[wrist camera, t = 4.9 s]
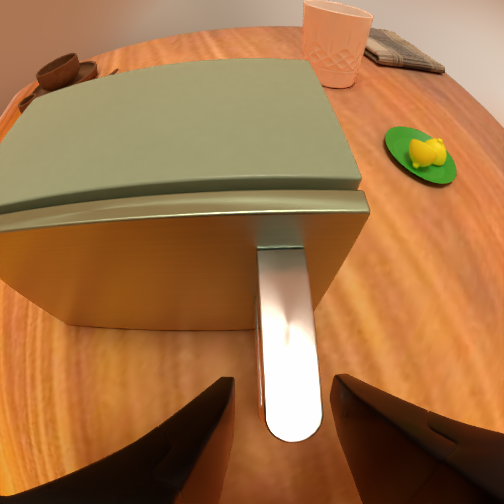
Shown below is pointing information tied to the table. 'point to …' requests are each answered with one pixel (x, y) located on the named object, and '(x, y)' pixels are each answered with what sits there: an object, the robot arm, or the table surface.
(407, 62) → the dish towel
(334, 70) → the orange cup
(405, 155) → the green plate with lemon
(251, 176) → the cupboard
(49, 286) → the cupboard door
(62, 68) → the place setting
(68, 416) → the table surface
